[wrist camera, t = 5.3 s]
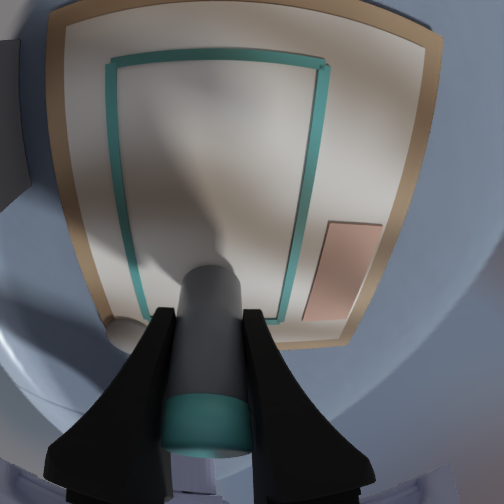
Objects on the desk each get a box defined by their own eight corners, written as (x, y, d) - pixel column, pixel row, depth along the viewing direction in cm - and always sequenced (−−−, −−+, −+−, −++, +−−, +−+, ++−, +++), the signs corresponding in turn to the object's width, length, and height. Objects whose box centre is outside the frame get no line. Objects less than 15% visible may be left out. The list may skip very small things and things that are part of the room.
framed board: (343, 342, 17) (347, 353, 17) (116, 341, 16) (113, 352, 15) (436, 37, 6) (449, 37, 6) (56, 13, 5) (43, 11, 4)
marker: (239, 309, 13) (249, 458, 7) (182, 307, 13) (168, 455, 7) (244, 265, 11) (259, 440, 6) (178, 262, 11) (151, 435, 5)
